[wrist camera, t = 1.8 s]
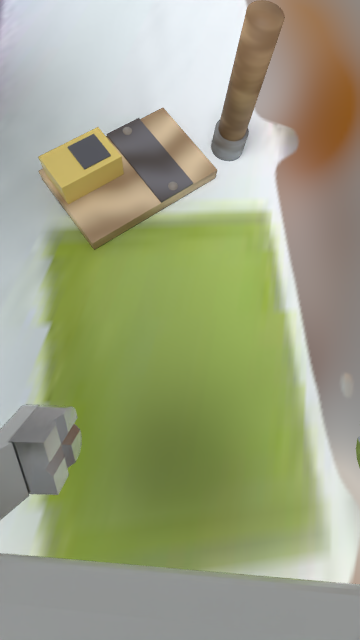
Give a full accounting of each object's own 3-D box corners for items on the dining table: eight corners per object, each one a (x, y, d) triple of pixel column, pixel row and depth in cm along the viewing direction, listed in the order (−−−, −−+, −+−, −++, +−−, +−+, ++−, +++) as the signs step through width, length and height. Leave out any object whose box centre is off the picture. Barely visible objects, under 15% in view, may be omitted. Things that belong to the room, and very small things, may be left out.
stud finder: (46, 174, 40) (37, 155, 37) (101, 146, 42) (97, 125, 39) (68, 204, 39) (61, 187, 36) (123, 174, 41) (121, 155, 38)
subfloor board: (42, 179, 42) (37, 168, 40) (162, 117, 46) (163, 104, 44) (94, 249, 40) (91, 242, 38) (215, 177, 44) (217, 167, 42)
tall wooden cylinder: (204, 143, 45) (232, 7, 30) (229, 130, 46) (267, -9, 31) (224, 166, 45) (263, 38, 29) (248, 151, 46) (298, 20, 30)
